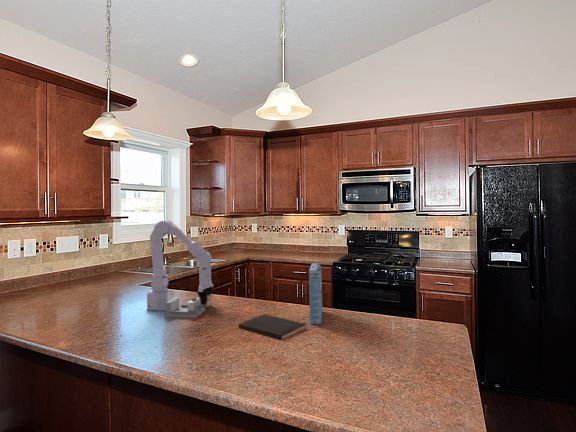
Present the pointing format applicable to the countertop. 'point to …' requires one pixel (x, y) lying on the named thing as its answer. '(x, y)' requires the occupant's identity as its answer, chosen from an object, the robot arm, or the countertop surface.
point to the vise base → (181, 310)
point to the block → (208, 301)
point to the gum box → (315, 293)
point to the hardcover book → (272, 326)
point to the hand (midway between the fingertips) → (205, 302)
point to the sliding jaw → (194, 304)
